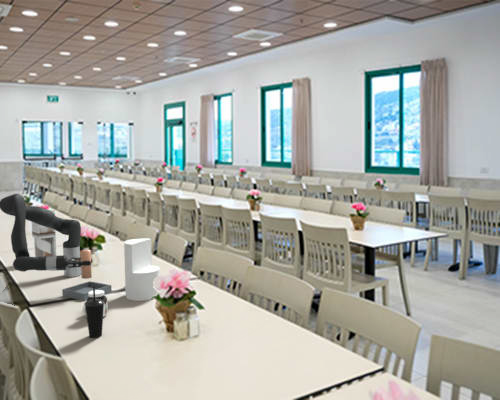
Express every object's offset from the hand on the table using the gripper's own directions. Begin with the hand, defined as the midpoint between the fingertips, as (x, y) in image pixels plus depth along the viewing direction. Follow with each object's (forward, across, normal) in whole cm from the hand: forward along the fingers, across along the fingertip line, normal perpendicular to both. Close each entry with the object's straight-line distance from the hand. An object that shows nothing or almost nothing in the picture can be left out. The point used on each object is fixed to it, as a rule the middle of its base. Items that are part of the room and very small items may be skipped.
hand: (91, 261), depth 255 cm
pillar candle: (-3, 0, +8) cm, 8 cm away
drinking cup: (+9, -61, +17) cm, 64 cm away
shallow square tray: (-2, 0, +17) cm, 17 cm away
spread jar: (+6, -37, +17) cm, 41 cm away
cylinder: (+26, -8, +17) cm, 32 cm away
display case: (-40, +76, +17) cm, 87 cm away
